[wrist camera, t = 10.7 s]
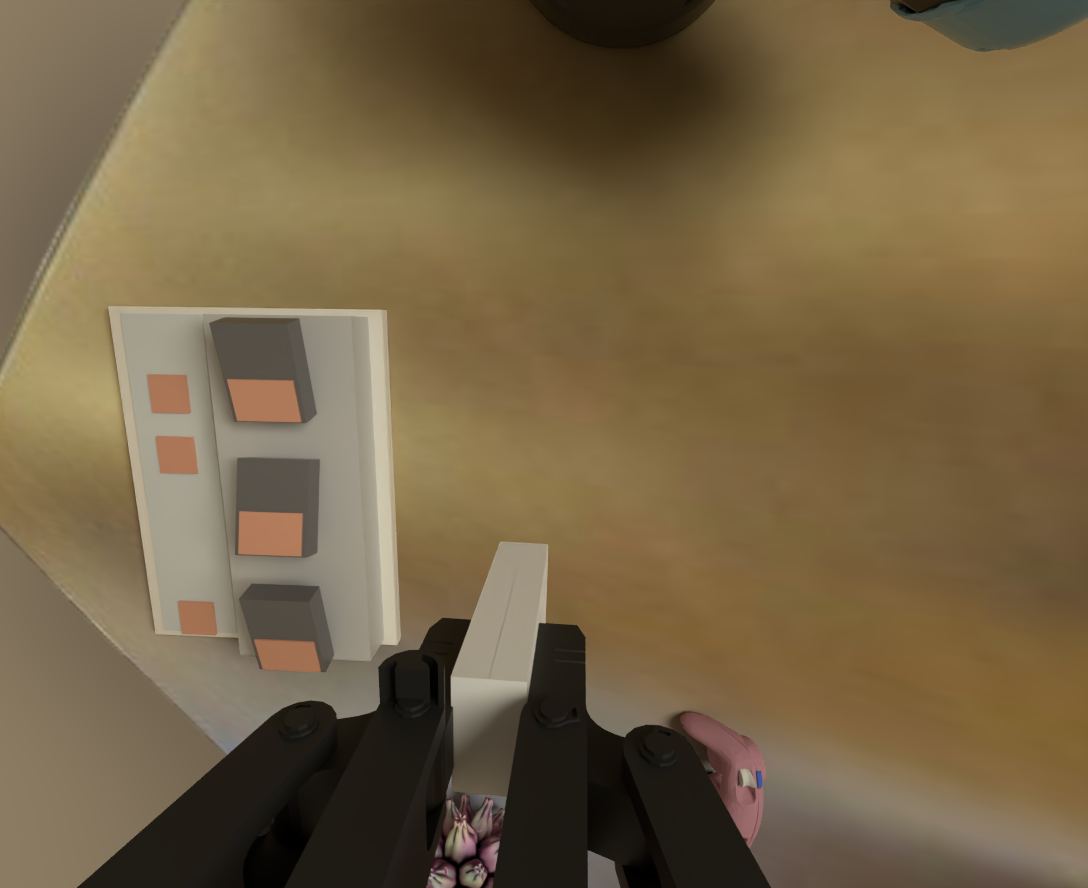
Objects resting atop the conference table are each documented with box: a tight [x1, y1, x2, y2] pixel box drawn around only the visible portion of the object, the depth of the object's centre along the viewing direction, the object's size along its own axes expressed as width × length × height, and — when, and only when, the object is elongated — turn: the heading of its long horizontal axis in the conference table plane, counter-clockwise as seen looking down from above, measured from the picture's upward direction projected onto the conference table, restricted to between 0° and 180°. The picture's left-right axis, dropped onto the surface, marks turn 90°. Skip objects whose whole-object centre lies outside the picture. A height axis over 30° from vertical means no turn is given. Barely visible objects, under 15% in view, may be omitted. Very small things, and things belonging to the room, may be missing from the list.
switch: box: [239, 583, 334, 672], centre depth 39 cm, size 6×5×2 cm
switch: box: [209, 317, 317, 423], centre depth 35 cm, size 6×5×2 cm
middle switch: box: [235, 457, 320, 558], centre depth 37 cm, size 6×5×2 cm
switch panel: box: [108, 306, 401, 661], centre depth 41 cm, size 26×20×4 cm
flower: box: [426, 794, 505, 888], centre depth 42 cm, size 12×12×12 cm
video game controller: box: [680, 712, 766, 848], centre depth 43 cm, size 10×5×7 cm, turn 175°
